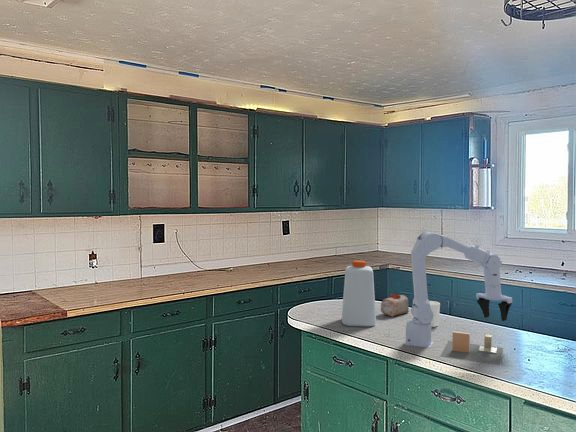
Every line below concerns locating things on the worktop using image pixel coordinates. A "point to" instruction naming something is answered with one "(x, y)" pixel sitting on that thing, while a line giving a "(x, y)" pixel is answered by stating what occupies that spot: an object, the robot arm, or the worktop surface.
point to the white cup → (435, 312)
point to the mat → (473, 354)
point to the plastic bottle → (359, 296)
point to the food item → (394, 305)
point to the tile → (461, 342)
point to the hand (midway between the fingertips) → (495, 318)
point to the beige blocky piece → (488, 345)
